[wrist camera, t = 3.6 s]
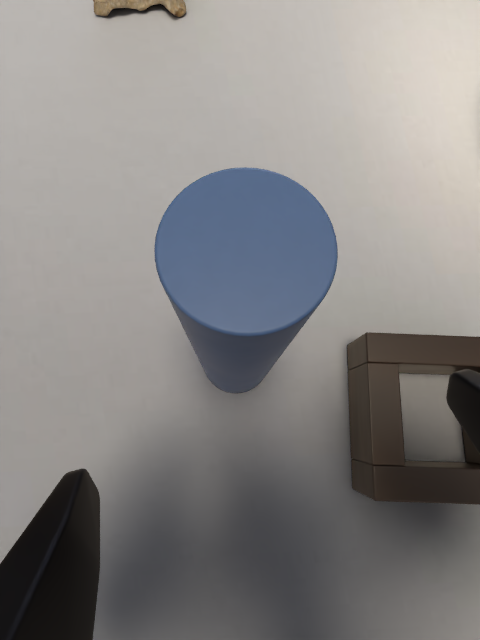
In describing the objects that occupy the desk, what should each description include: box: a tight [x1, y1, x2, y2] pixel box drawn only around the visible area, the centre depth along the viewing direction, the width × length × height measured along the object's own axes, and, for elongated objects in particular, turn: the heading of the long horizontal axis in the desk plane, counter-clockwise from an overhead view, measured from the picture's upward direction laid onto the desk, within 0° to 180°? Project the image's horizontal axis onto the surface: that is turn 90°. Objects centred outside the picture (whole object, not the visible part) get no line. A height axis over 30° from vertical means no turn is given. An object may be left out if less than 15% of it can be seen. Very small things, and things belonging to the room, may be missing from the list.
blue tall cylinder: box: [155, 168, 338, 393], centre depth 14 cm, size 3×3×14 cm
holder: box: [347, 333, 480, 504], centre depth 18 cm, size 7×7×3 cm
